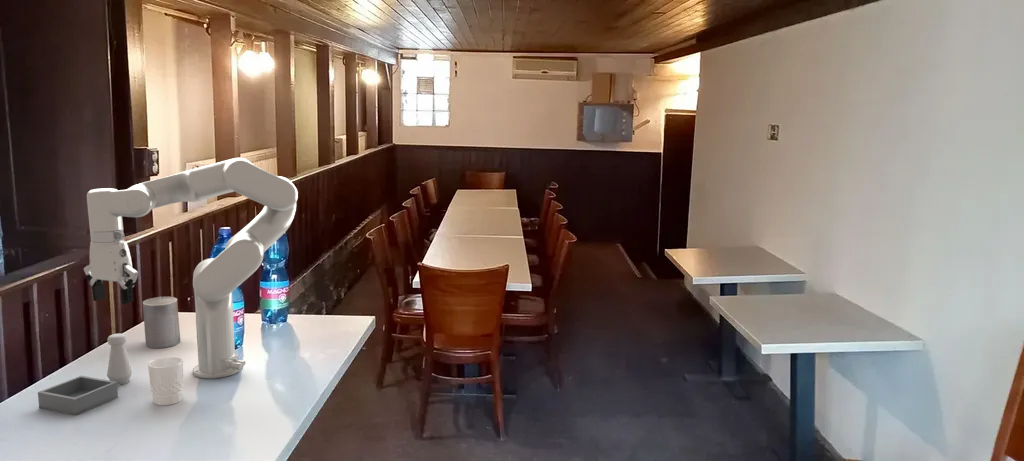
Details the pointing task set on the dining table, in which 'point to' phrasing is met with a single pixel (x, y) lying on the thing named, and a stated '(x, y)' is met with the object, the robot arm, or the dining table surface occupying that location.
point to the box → (78, 395)
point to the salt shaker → (118, 360)
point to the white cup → (166, 380)
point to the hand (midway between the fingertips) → (113, 301)
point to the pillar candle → (161, 322)
